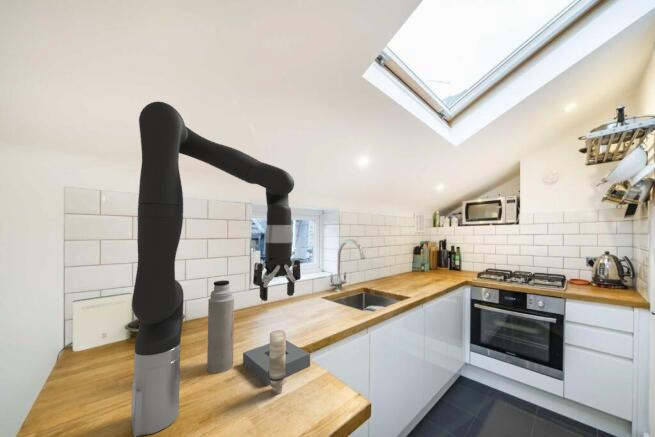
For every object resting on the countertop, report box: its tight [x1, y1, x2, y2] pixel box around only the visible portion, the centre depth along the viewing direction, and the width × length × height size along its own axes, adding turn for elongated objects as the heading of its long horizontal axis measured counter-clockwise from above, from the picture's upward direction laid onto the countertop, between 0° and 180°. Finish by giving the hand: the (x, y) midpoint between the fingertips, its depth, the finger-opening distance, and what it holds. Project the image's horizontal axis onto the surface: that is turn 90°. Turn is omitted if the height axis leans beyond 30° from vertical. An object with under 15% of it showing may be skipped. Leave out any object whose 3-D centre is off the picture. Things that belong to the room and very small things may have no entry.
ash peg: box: [269, 329, 287, 395], centre depth 72 cm, size 4×4×16 cm
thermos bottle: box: [206, 279, 235, 374], centre depth 85 cm, size 8×8×28 cm
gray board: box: [242, 339, 311, 387], centre depth 85 cm, size 16×16×4 cm
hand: (277, 297), depth 73 cm, fingers open, 8 cm apart
